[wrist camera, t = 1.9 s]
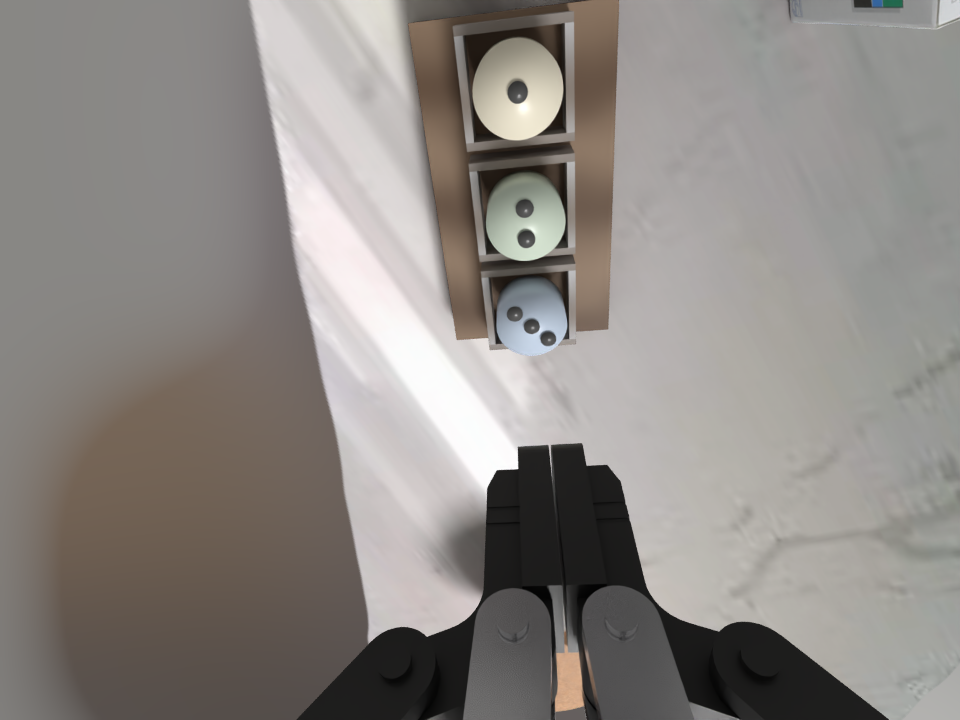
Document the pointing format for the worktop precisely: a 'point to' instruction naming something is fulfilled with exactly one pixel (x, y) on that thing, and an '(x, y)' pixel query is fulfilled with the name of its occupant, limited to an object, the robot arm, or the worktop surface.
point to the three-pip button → (531, 315)
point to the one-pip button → (517, 88)
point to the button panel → (522, 158)
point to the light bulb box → (877, 12)
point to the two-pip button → (525, 216)
